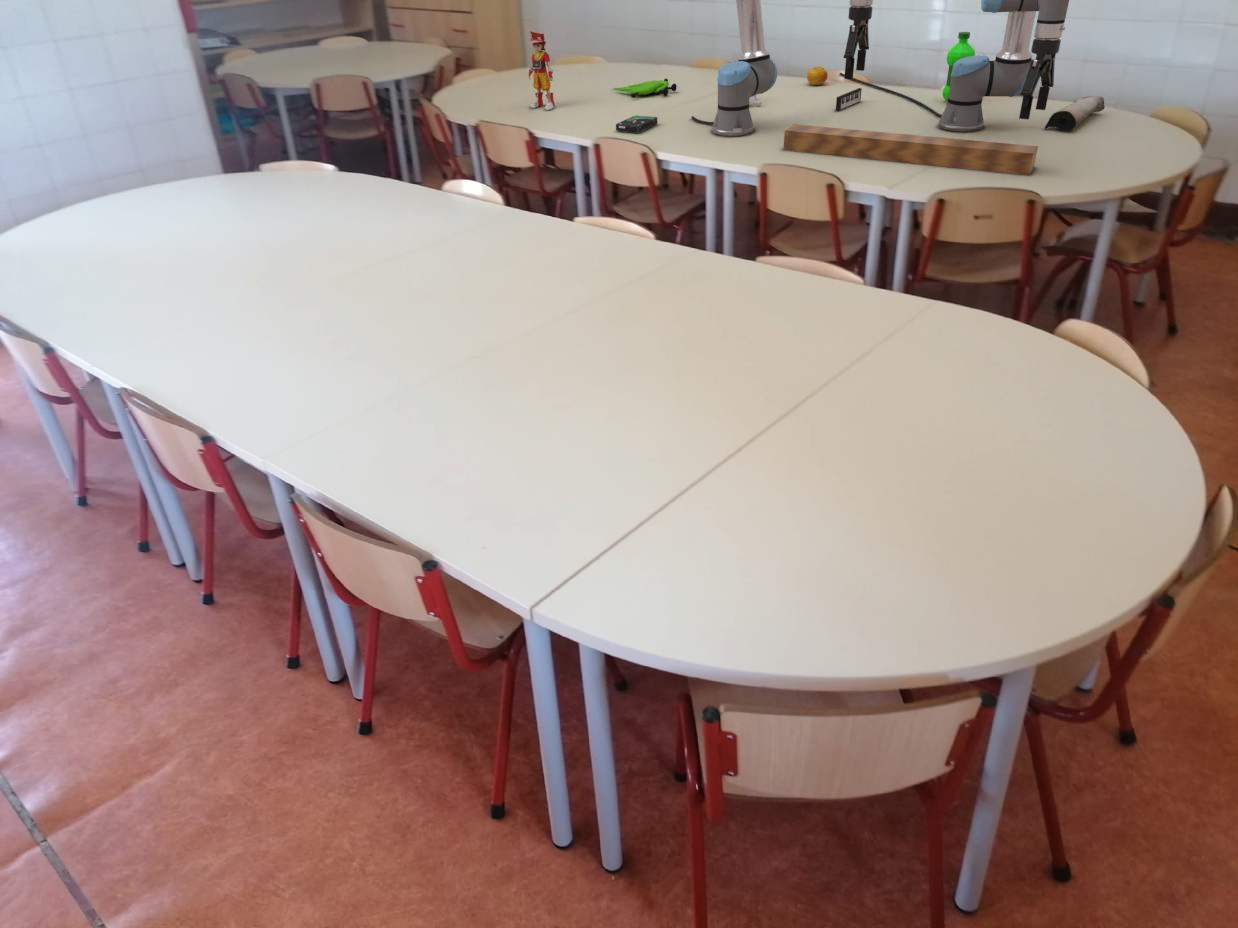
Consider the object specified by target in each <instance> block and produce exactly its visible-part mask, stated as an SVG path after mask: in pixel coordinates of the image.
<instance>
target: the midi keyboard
mask: <svg viewBox="0 0 1238 928" xmlns="http://www.w3.org/2000/svg"><path fill="white" fill-rule="evenodd" d="M862 90H863V89H862V87H859V88H856V89H853V90H851V91H849V92H846V93H843V94H841V95H839V96H836V102H835V111H838V112H839V111H841V110H843V109H845V108H848V107H850V106H852V105H854V104H857V103H859V102H861V99H862Z"/></svg>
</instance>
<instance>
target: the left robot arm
mask: <svg viewBox="0 0 1238 928" xmlns="http://www.w3.org/2000/svg"><path fill="white" fill-rule="evenodd" d="M735 2H736V11H737V21H738V31H739V41H740V49H741V52H740V53H741V54H740V55H739V57H738V58H737V60H736V61H732V62H727V63H724V64H722V65H721V66H720V67H719V68H718V70H717V71H718V73H717V74H718V75H717V111H716V114H715V118H714V120H713V121H706V120H702V119H698V118H696V117H695V116H693V115H692V116H691V117H690V118H691V119H692V120H693V121H695V122H697V123H699V124H704V125H708V126H709V125H710V126H712V133H713V134H715V135H717V136H721V137H741V136H746V135H750V134H752V133H754V127H755V126H754V122H753V118H752V115H751V111H750V106H749V97H752V96H754V95H756V96H757V95H763V94H764V93H766V92H768V91H770V90H771V89H772V88H773V87H774V85H775V84H776V82H777V79H778V67H777V65H776V63H775V62H774V61H773V59H772V58H771V55H770V52H769V50H767V49H766V46H765V35H764V33H765V32H764V24H763V23H764V22H763V14H762V3H761V0H735ZM873 4H874V0H849V8H848V17H847V18H848V19H849V20H850V21H852V22H853V24H850V25H849V31H848V36H847V37H848V38H847V40H846V46H845V51H844V55H843V59H845V68H844V74H845V77H844V76H843V77H844V78H843V79H844V80H851V79H853V78H854V72H855V71H862V72H864V71H865V67H866V58H867V51H868V50H869V49H870V46H869V45H870V44H869V42H870V40H869V39H870V37H869V20H871V19H872V16H873ZM857 47H858V50H857ZM856 52H857V55H856V56H857V57H856V58H855V54H856ZM855 60H856V67H855ZM854 69H855V71H854Z"/></svg>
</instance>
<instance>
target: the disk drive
mask: <svg viewBox="0 0 1238 928" xmlns="http://www.w3.org/2000/svg"><path fill="white" fill-rule="evenodd" d="M657 124H658V116H650V115H648V116H647V115H646V116H645V115H638V114H637V115H633V116H631V117H628V118H626V119H624V120H621V121H619V122H617V123H615V130H616V131H617V132H624V133H634V134H639V133H642V132H644V131H646V130H647V129H649V128H650V129H651V128H653V127H654V126H656V125H657Z"/></svg>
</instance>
